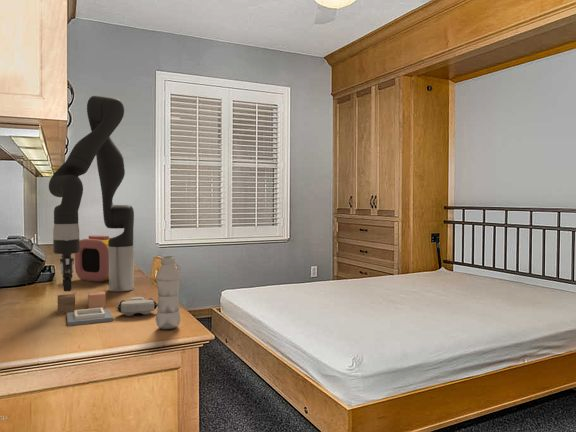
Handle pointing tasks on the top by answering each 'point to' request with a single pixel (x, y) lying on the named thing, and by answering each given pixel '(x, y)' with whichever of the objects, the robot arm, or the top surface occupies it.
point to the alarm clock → (93, 259)
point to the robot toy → (137, 306)
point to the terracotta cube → (97, 300)
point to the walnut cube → (66, 303)
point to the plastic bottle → (168, 294)
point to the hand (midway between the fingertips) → (67, 288)
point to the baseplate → (89, 316)
